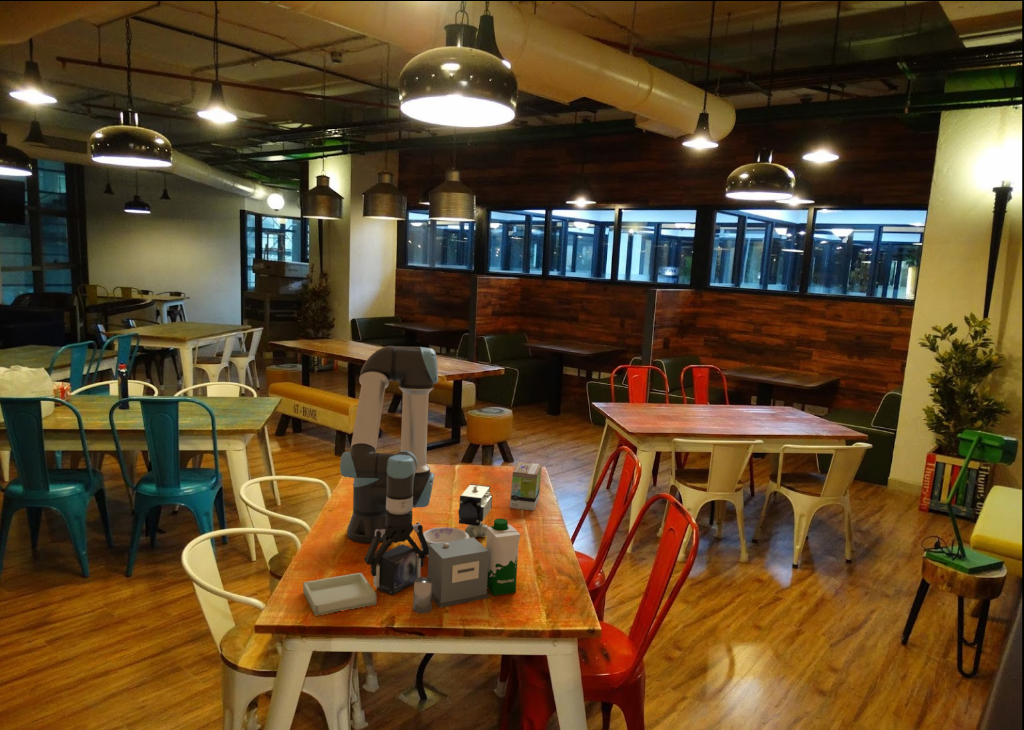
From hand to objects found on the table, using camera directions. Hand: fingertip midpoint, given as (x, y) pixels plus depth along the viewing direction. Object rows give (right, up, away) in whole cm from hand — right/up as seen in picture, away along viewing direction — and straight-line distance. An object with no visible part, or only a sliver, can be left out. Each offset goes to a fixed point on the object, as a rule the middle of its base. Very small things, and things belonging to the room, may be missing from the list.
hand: (397, 581), depth 202 cm
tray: (-15, -2, -9) cm, 17 cm away
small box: (0, -2, 0) cm, 2 cm away
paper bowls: (+12, +1, +20) cm, 23 cm away
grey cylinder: (+9, -4, -12) cm, 15 cm away
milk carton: (+30, -3, +2) cm, 30 cm away
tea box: (+38, +8, +75) cm, 84 cm away
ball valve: (+20, +3, +40) cm, 45 cm away
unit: (+17, -3, -3) cm, 18 cm away
